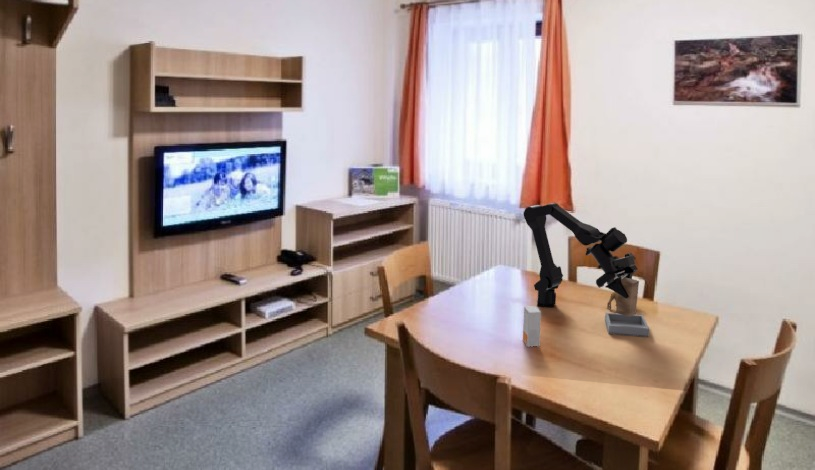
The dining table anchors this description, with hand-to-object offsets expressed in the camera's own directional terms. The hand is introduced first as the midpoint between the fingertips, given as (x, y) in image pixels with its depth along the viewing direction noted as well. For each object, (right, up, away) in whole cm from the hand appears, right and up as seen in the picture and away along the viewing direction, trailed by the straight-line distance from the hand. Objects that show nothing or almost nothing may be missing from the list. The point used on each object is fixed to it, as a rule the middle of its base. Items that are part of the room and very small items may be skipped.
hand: (631, 296), depth 212 cm
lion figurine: (+5, -7, +27) cm, 29 cm away
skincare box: (-36, -15, -9) cm, 40 cm away
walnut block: (-1, -6, +3) cm, 7 cm away
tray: (0, -12, +4) cm, 13 cm away
